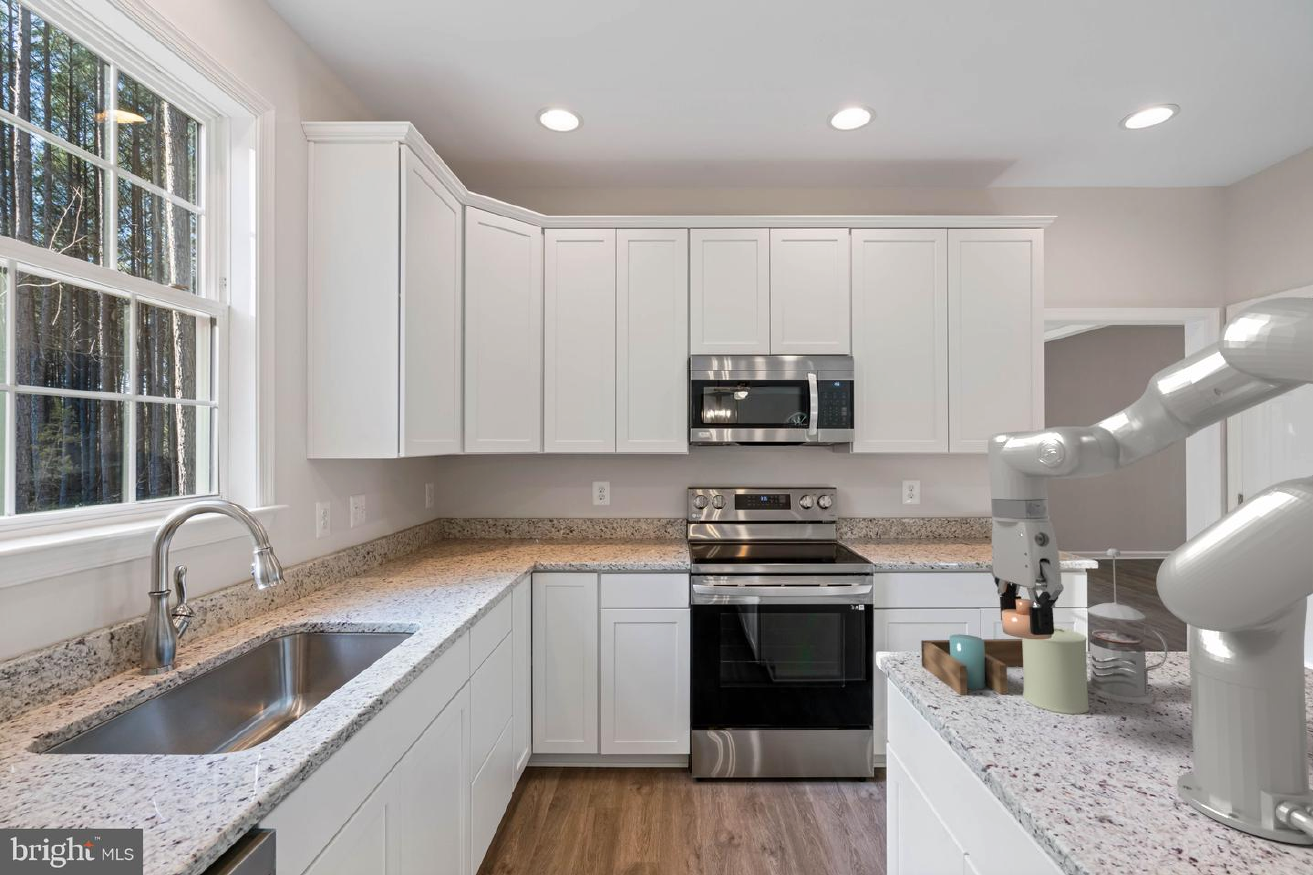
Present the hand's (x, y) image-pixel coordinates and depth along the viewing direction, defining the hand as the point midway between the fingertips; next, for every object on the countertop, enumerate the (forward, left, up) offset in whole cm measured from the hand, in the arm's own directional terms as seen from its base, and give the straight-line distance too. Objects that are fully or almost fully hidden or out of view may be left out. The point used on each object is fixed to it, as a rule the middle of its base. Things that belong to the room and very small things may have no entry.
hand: (1026, 626), depth 89 cm
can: (+9, -10, -16) cm, 20 cm away
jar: (+17, 0, -15) cm, 23 cm away
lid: (0, 0, -1) cm, 1 cm away
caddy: (+19, -7, -15) cm, 25 cm away
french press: (+12, -25, -16) cm, 31 cm away
